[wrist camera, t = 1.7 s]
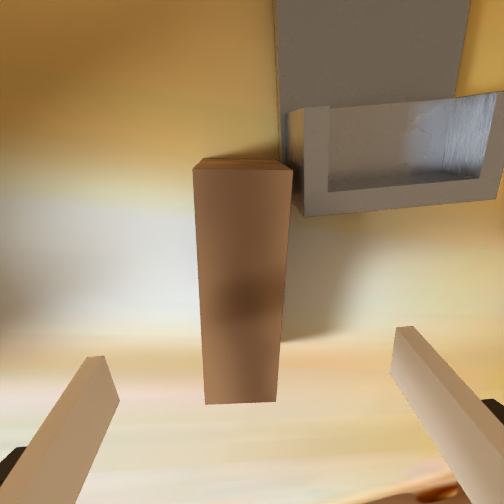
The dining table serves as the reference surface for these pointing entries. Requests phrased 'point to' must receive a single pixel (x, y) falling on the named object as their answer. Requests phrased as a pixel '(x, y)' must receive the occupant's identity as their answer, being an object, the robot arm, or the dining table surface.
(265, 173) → the brown wooden block
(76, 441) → the robot arm
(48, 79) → the dining table surface
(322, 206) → the bracket
